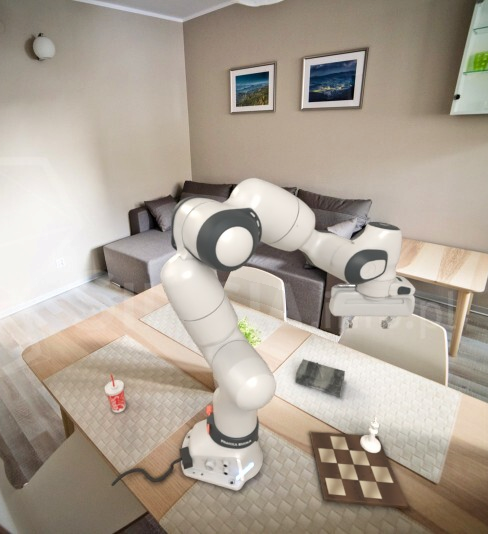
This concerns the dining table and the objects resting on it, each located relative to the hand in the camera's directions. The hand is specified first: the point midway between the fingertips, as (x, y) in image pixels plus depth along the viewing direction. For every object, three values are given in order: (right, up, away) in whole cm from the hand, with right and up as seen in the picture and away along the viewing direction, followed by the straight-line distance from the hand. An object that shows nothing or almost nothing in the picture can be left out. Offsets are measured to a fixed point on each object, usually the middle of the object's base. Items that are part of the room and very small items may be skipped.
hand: (366, 327), depth 90 cm
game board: (-6, -35, -6) cm, 36 cm away
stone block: (-4, -23, +22) cm, 32 cm away
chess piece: (0, -32, -2) cm, 32 cm away
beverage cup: (-73, -30, +18) cm, 81 cm away
